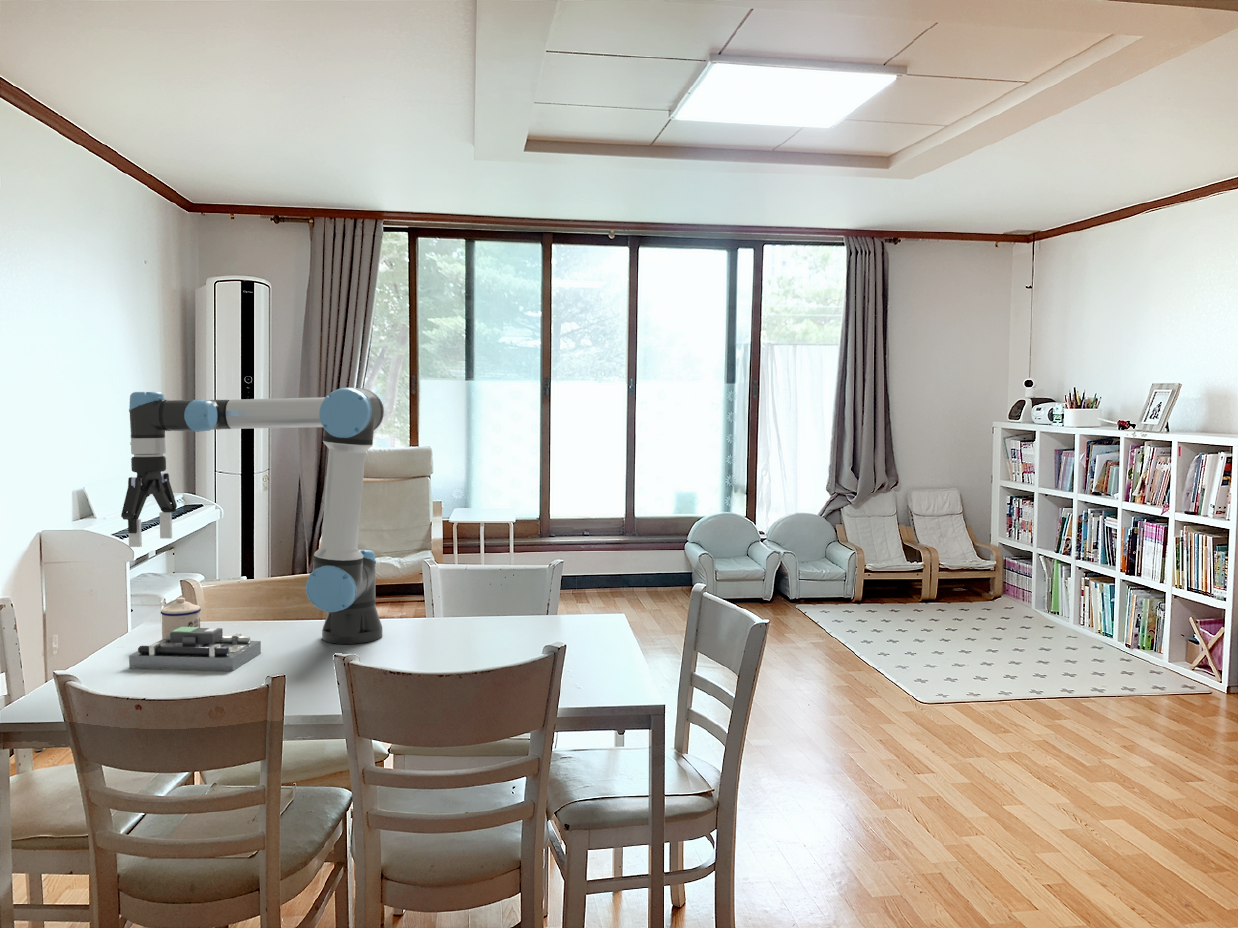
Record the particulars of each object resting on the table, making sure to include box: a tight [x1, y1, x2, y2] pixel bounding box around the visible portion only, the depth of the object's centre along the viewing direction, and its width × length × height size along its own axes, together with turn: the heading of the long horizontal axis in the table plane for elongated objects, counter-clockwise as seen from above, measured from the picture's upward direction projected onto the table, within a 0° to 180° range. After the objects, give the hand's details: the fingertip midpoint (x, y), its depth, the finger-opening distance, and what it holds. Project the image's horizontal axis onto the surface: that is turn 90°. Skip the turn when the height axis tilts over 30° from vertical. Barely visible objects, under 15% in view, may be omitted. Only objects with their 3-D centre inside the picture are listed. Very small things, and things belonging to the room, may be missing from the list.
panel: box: [128, 633, 262, 672], centre depth 220 cm, size 24×15×6 cm, turn 88°
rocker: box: [170, 626, 224, 644], centre depth 219 cm, size 10×5×3 cm, turn 88°
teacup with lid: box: [160, 597, 202, 640], centre depth 235 cm, size 12×9×12 cm
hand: (151, 542), depth 228 cm, fingers open, 13 cm apart
